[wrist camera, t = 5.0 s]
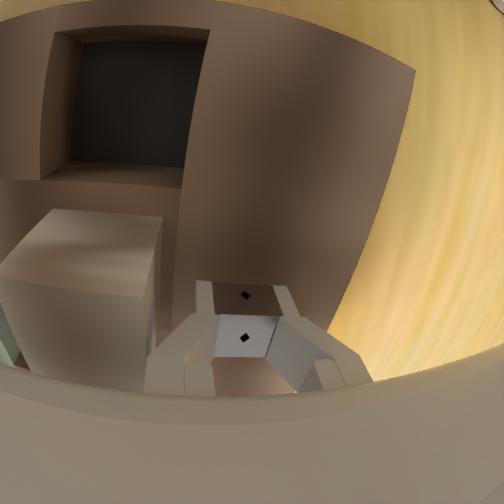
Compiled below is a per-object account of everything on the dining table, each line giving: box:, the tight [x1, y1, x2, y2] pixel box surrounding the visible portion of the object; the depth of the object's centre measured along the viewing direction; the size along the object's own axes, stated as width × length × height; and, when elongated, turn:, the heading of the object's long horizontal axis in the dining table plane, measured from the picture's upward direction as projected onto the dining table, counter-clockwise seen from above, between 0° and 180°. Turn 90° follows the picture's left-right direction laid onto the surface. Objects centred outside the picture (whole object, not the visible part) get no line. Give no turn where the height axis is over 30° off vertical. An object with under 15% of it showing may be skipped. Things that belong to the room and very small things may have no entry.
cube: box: [0, 209, 163, 393], centre depth 8 cm, size 4×4×4 cm
